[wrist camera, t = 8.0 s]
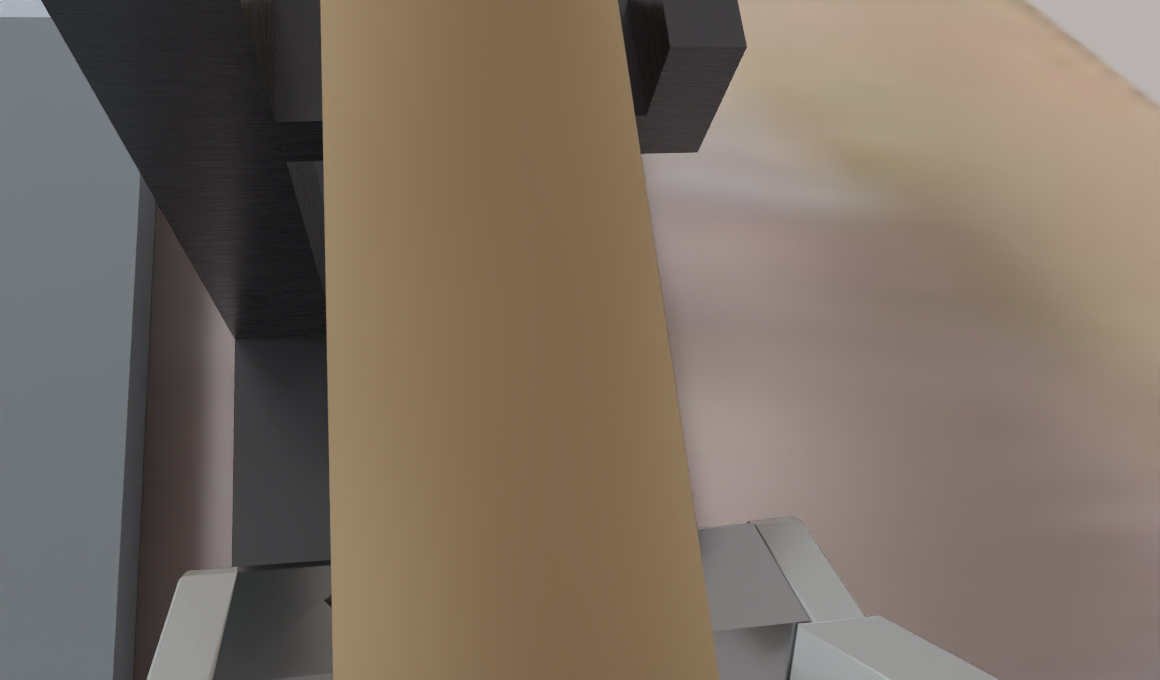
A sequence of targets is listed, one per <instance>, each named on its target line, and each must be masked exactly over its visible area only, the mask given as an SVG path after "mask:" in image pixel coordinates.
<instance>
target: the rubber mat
mask: <svg viewBox="0 0 1160 680" xmlns="http://www.w3.org/2000/svg"><path fill="white" fill-rule="evenodd" d="M155 209H156V200H155V198H154V197H153V195H152V193H151V191H150V190H149V188H148V186H147V184H146V183H145V181H144V179H143V177H142V176H141V174H140V172H139V170H138V169H137V167H136V165H135V163H134V162H133V160H132V158H131V156H130V155H129V153H128V151H127V149H126V148H125V146H124V144H123V142H122V141H121V139H120V137H119V135H118V134H117V132H116V130H115V128H114V127H113V125H112V123H111V121H110V120H109V118H108V116H107V114H106V113H105V111H104V109H103V107H102V106H101V104H100V102H99V100H98V99H97V97H96V95H95V93H94V92H93V90H92V88H91V86H90V85H89V83H88V81H87V79H86V78H85V76H84V74H83V72H82V71H81V69H80V67H79V65H78V64H77V62H76V60H75V58H74V57H73V55H72V53H71V51H70V50H69V48H68V46H67V44H66V43H65V41H64V39H63V37H62V36H61V34H60V32H59V30H58V29H57V27H56V25H55V23H54V22H53V20H52V18H14V17H0V680H133V671H134V650H135V629H136V608H137V587H138V566H139V545H140V524H141V503H142V482H143V461H144V440H145V419H146V398H147V377H148V356H149V335H150V314H151V293H152V272H153V251H154V230H155Z"/></svg>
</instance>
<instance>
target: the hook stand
mask: <svg viewBox="0 0 1160 680" xmlns="http://www.w3.org/2000/svg"><path fill="white" fill-rule="evenodd" d="M41 1H42V2H43V4H44V6H45V8H46V9H47V11H48V13H49V15H50V16H51V18H52V20H53V22H54V23H55V25H56V27H57V29H58V30H59V32H60V34H61V36H62V37H63V39H64V41H65V43H66V44H67V46H68V48H69V50H70V51H71V53H72V55H73V57H74V58H75V60H76V62H77V64H78V65H79V67H80V69H81V71H82V72H83V74H84V76H85V78H86V79H87V81H88V83H89V85H90V86H91V88H92V90H93V92H94V93H95V95H96V97H97V99H98V100H99V102H100V104H101V106H102V107H103V109H104V111H105V113H106V114H107V116H108V118H109V120H110V121H111V123H112V125H113V127H114V128H115V130H116V132H117V134H118V135H119V137H120V139H121V141H122V142H123V144H124V146H125V148H126V149H127V151H128V153H129V155H130V156H131V158H132V160H133V162H134V163H135V165H136V167H137V169H138V170H139V172H140V174H141V176H142V177H143V179H144V181H145V183H146V184H147V186H148V188H149V190H150V191H151V193H152V195H153V197H154V198H155V200H156V202H157V204H158V205H159V207H160V209H161V210H162V212H163V214H164V216H165V217H166V219H167V221H168V223H169V224H170V226H171V228H172V230H173V231H174V233H175V235H176V237H177V238H178V240H179V242H180V244H181V245H182V247H183V249H184V251H185V252H186V254H187V256H188V258H189V259H190V261H191V263H192V265H193V266H194V268H195V270H196V272H197V273H198V275H199V277H200V279H201V280H202V282H203V284H204V286H205V287H206V289H207V291H208V293H209V294H210V296H211V298H212V300H213V301H214V303H215V305H216V307H217V308H218V310H219V312H220V314H221V315H222V317H223V319H224V321H225V322H226V324H227V326H228V328H229V329H230V331H231V333H232V335H233V336H234V338H235V391H234V459H233V526H232V567H240V568H242V567H243V566H250V565H265V564H279V563H294V562H309V561H323V560H331V536H330V484H329V431H328V378H327V325H326V272H325V219H324V166H323V113H322V60H321V7H320V0H41ZM618 5H619V12H620V18H621V25H622V32H623V38H624V45H625V52H626V58H627V65H628V72H629V78H630V85H631V92H632V98H633V105H634V112H635V118H636V125H637V132H638V138H639V145H640V152H641V154H646V153H689V152H698V150H699V148H700V146H701V144H702V141H703V139H704V137H705V135H706V133H707V131H708V129H709V126H710V124H711V122H712V120H713V118H714V116H715V114H716V112H717V109H718V107H719V105H720V103H721V101H722V99H723V97H724V94H725V92H726V90H727V88H728V86H729V84H730V82H731V80H732V77H733V75H734V73H735V71H736V69H737V67H738V65H739V62H740V60H741V58H742V56H743V54H744V52H745V50H746V48H747V46H746V41H745V36H744V31H743V26H742V21H741V16H740V11H739V6H738V1H737V0H618Z"/></svg>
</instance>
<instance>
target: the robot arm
mask: <svg viewBox="0 0 1160 680" xmlns="http://www.w3.org/2000/svg"><path fill="white" fill-rule="evenodd" d="M697 532H698V539H699V545H700V552H701V559H702V565H703V572H704V579H705V585H706V592H707V599H708V605H709V612H710V619H711V625H712V632H713V639H714V645H715V652H716V659H717V665H718V672H719V679H720V680H999V679H997V678H995V677H993V676H992V675H990V674H988V673H986V672H984V671H982V670H980V669H979V668H977V667H975V666H973V665H971V664H969V663H967V662H966V661H964V660H962V659H960V658H958V657H956V656H954V655H953V654H951V653H949V652H947V651H945V650H943V649H941V648H940V647H938V646H936V645H934V644H932V643H930V642H928V641H927V640H925V639H923V638H921V637H919V636H917V635H915V634H914V633H912V632H910V631H908V630H906V629H904V628H902V627H901V626H899V625H897V624H895V623H893V622H891V621H890V620H888V619H886V618H884V617H882V616H880V615H877V616H867V617H866V616H865V615H864V613H863V612H862V610H861V609H860V607H859V606H858V604H857V603H856V601H855V600H854V598H853V597H852V595H851V594H850V592H849V591H848V589H847V588H846V586H845V585H844V583H843V582H842V580H841V579H840V578H839V576H838V575H837V573H836V572H835V570H834V569H833V567H832V566H831V564H830V563H829V561H828V560H827V558H826V557H825V555H824V554H823V552H822V551H821V549H820V548H819V546H818V545H817V543H816V542H815V540H814V539H813V538H812V536H811V535H810V533H809V532H808V530H807V529H806V527H805V526H804V524H803V523H802V521H801V520H799V519H797V518H795V517H794V516H790V517H782V518H773V519H765V520H756V521H748V522H747V523H745V524H734V525H724V526H713V527H703V528H697ZM147 680H333V642H332V589H331V560H323V561H309V562H294V563H279V564H265V565H250V566H243V567H242V568H240V567H227V568H215V569H203V570H191V571H187V572H186V573H185V574H184V575H183V576H182V577H181V578H180V580H179V581H178V584H177V587H176V590H175V593H174V596H173V599H172V602H171V605H170V608H169V612H168V615H167V618H166V621H165V624H164V627H163V630H162V633H161V636H160V639H159V643H158V646H157V649H156V652H155V655H154V658H153V661H152V664H151V667H150V670H149V673H148V677H147Z"/></svg>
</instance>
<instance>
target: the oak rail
mask: <svg viewBox="0 0 1160 680" xmlns="http://www.w3.org/2000/svg"><path fill="white" fill-rule="evenodd" d="M320 7H321V60H322V113H323V166H324V219H325V272H326V325H327V378H328V431H329V484H330V536H331V589H332V642H333V680H720V679H719V672H718V665H717V659H716V652H715V645H714V639H713V632H712V625H711V619H710V612H709V605H708V599H707V592H706V585H705V579H704V572H703V565H702V559H701V552H700V545H699V539H698V532H697V525H696V519H695V512H694V505H693V499H692V492H691V485H690V478H689V472H688V465H687V458H686V452H685V445H684V438H683V432H682V425H681V418H680V412H679V405H678V398H677V392H676V385H675V378H674V372H673V365H672V358H671V352H670V345H669V338H668V332H667V325H666V318H665V312H664V305H663V298H662V292H661V285H660V278H659V272H658V265H657V258H656V252H655V245H654V238H653V232H652V225H651V218H650V212H649V205H648V198H647V192H646V185H645V178H644V172H643V165H642V158H641V152H640V145H639V138H638V132H637V125H636V118H635V112H634V105H633V98H632V92H631V85H630V78H629V72H628V65H627V58H626V52H625V45H624V38H623V32H622V25H621V18H620V12H619V5H618V0H320Z"/></svg>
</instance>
